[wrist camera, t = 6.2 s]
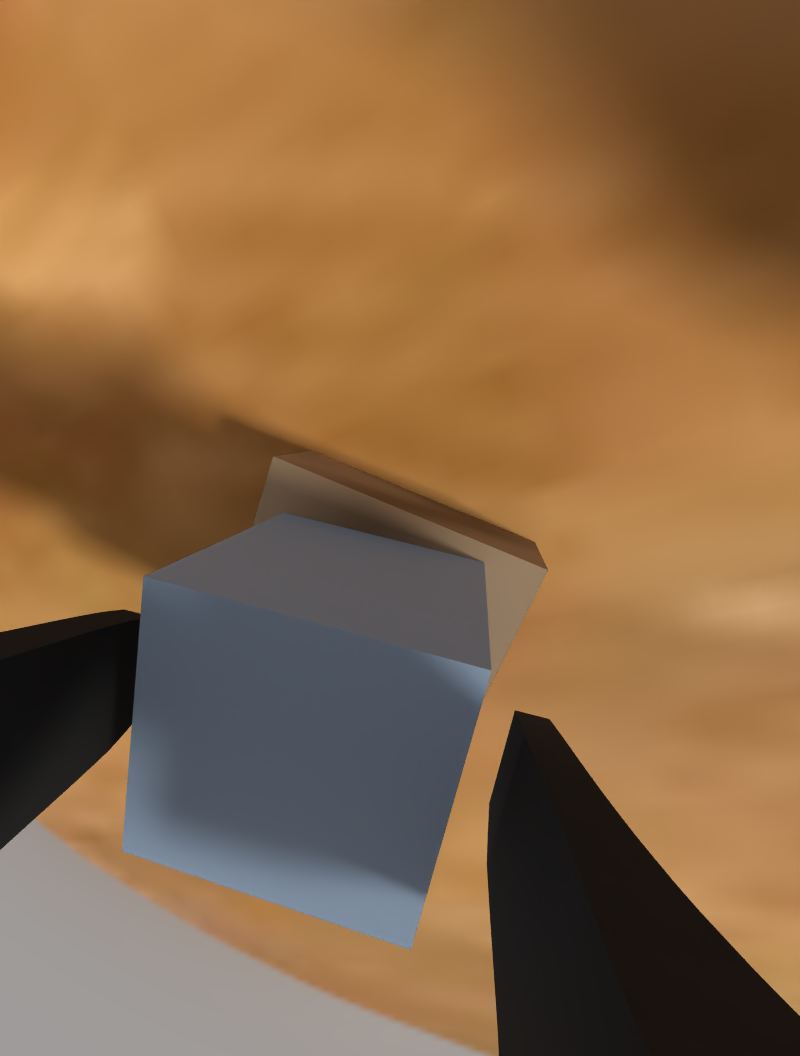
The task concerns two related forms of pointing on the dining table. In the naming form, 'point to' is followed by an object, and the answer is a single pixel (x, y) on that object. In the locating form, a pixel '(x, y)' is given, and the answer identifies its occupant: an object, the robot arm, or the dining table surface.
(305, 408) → the dining table surface
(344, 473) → the walnut block
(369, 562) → the blue cube
